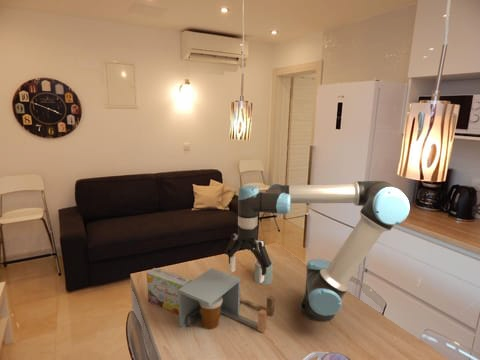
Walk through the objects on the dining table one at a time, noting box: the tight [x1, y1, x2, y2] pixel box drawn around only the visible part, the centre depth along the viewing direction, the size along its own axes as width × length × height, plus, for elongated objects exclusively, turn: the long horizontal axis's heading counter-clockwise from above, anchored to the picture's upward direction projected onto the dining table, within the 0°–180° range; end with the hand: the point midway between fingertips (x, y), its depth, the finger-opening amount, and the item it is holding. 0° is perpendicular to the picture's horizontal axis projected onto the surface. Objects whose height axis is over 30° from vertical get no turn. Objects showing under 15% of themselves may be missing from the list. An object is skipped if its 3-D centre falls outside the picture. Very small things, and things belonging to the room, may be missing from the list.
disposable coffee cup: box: [199, 297, 223, 330], centre depth 125 cm, size 10×10×12 cm
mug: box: [253, 258, 274, 286], centre depth 162 cm, size 14×9×10 cm
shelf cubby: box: [178, 267, 241, 329], centre depth 127 cm, size 15×21×17 cm
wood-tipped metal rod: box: [186, 307, 268, 333], centre depth 123 cm, size 27×16×8 cm, turn 57°
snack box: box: [146, 267, 193, 315], centre depth 136 cm, size 21×6×15 cm, turn 62°
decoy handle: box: [240, 294, 276, 318], centre depth 138 cm, size 20×2×8 cm, turn 57°
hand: (246, 276), depth 124 cm, fingers open, 13 cm apart
